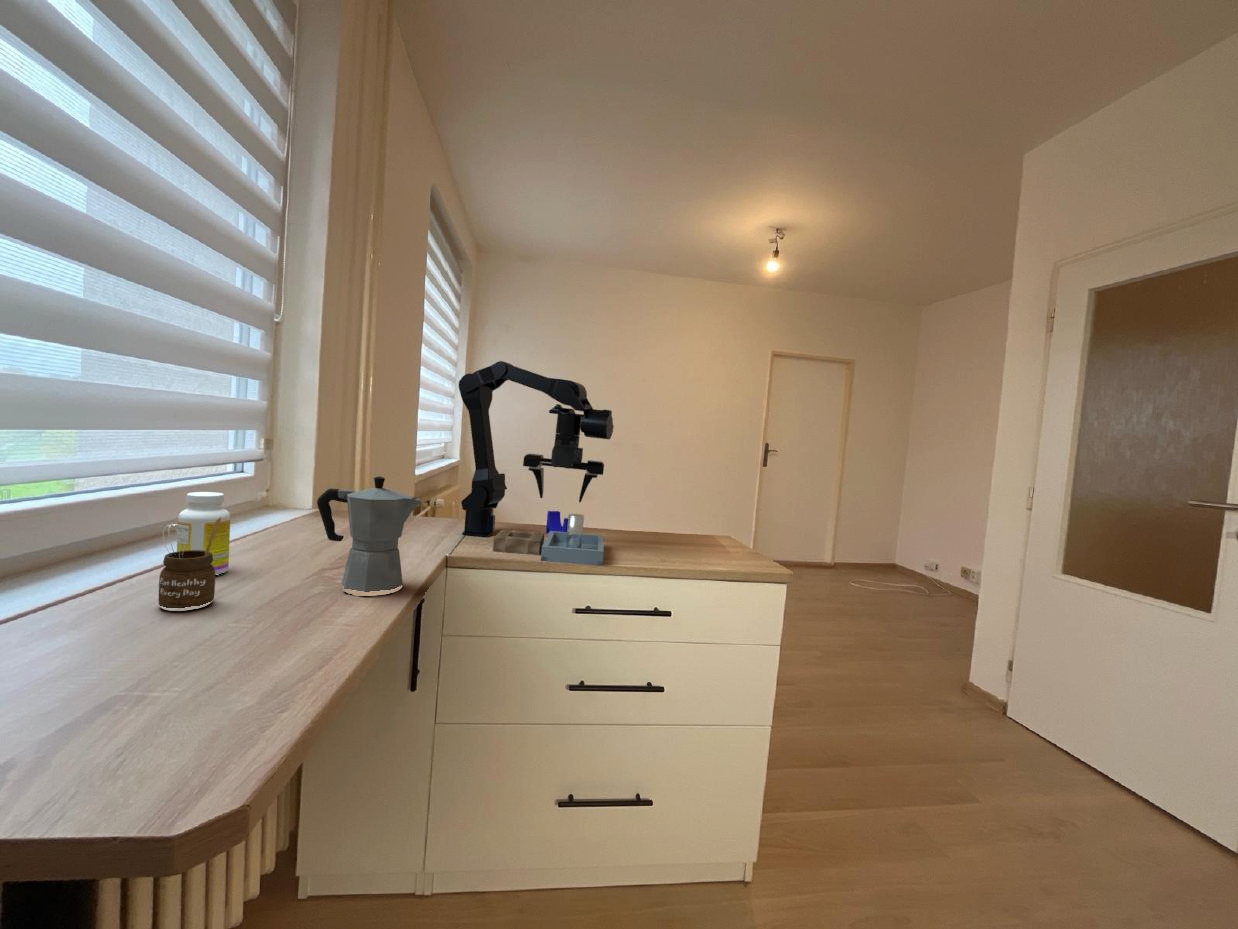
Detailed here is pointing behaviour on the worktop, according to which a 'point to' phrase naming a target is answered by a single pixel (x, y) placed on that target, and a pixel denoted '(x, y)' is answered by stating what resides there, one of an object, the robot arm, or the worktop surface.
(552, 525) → the cable clip
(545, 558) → the tray
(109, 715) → the worktop surface
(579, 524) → the silver metal cylinder
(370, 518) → the coffeepot
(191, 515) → the supplement bottle
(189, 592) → the utensil holder
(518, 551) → the socket block
